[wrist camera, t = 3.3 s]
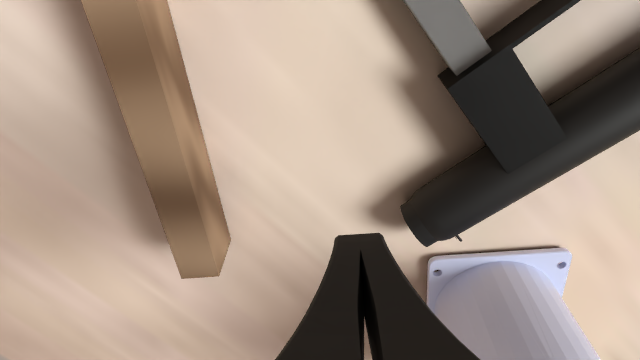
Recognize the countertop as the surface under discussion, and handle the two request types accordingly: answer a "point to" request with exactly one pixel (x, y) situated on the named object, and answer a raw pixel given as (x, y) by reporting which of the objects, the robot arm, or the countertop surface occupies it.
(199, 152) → the bar
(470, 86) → the door handle
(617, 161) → the countertop surface
